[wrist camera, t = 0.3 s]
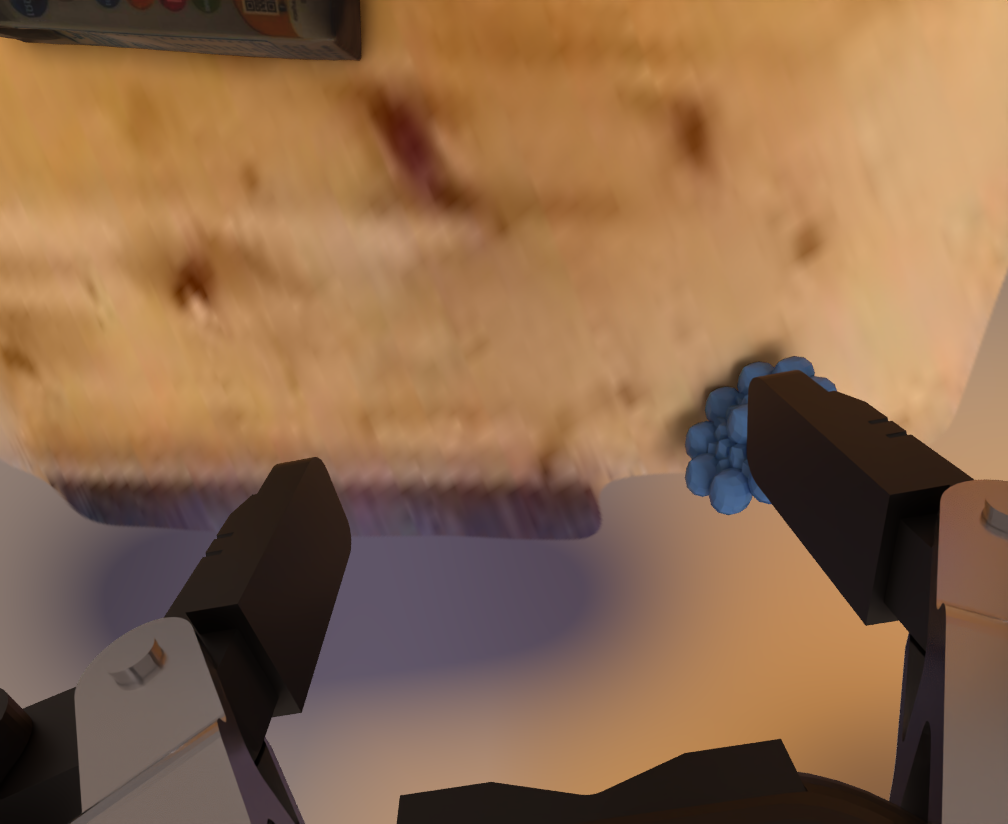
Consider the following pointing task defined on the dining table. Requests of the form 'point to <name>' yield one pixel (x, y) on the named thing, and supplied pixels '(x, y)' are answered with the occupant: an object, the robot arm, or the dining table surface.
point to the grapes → (732, 440)
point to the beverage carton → (193, 26)
